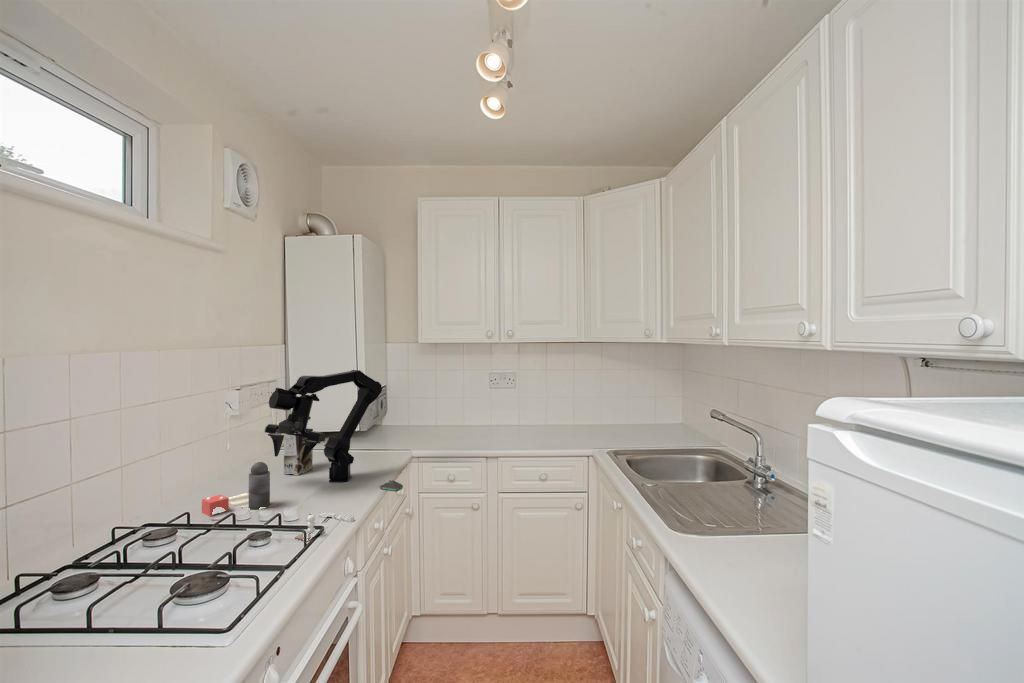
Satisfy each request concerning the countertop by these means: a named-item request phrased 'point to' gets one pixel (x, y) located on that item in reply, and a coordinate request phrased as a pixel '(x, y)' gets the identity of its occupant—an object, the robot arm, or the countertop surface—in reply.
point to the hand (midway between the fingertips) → (289, 458)
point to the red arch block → (214, 504)
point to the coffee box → (296, 455)
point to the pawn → (259, 486)
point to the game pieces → (387, 486)
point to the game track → (245, 501)
